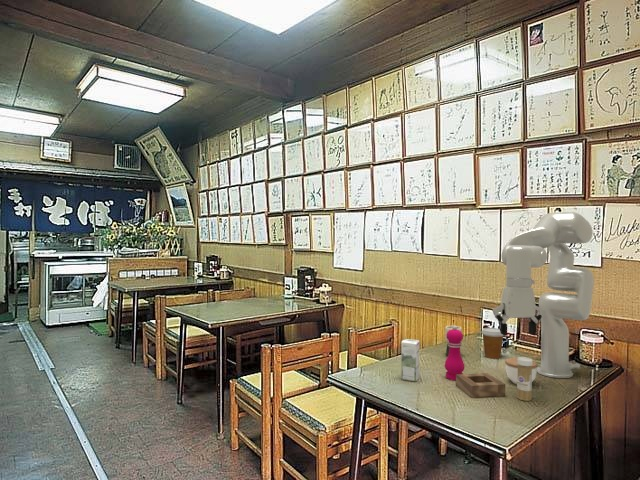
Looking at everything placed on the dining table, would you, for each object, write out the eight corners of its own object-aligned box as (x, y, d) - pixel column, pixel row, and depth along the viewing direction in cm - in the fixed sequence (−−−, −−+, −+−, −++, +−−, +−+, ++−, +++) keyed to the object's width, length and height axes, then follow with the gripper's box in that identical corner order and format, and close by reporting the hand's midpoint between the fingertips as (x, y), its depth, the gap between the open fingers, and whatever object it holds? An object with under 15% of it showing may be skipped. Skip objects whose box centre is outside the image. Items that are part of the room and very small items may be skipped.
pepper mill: (465, 381, 162) (465, 327, 162) (445, 380, 164) (445, 326, 163) (463, 375, 169) (463, 323, 169) (443, 374, 171) (444, 323, 170)
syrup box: (419, 377, 167) (419, 339, 167) (416, 382, 161) (416, 343, 161) (404, 375, 169) (404, 338, 169) (400, 380, 164) (400, 341, 164)
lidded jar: (523, 389, 154) (523, 363, 154) (498, 380, 164) (498, 355, 163) (543, 384, 159) (543, 359, 159) (518, 376, 168) (518, 351, 168)
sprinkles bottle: (515, 399, 145) (515, 358, 145) (519, 395, 149) (519, 355, 148) (529, 402, 142) (530, 361, 142) (533, 398, 146) (534, 358, 145)
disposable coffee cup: (479, 353, 200) (479, 327, 200) (501, 354, 199) (501, 327, 199) (483, 359, 191) (484, 331, 191) (506, 360, 189) (507, 332, 189)
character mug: (455, 360, 189) (456, 330, 189) (440, 357, 194) (440, 328, 194) (465, 355, 198) (466, 326, 197) (450, 352, 202) (450, 324, 202)
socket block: (487, 384, 160) (487, 373, 160) (505, 396, 148) (505, 384, 148) (456, 385, 158) (456, 374, 158) (471, 397, 146) (471, 385, 146)
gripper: (537, 282, 150) (537, 331, 151) (488, 282, 149) (487, 332, 150) (550, 284, 143) (549, 337, 143) (498, 284, 142) (497, 337, 142)
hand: (518, 334), depth 146 cm, fingers open, 9 cm apart
